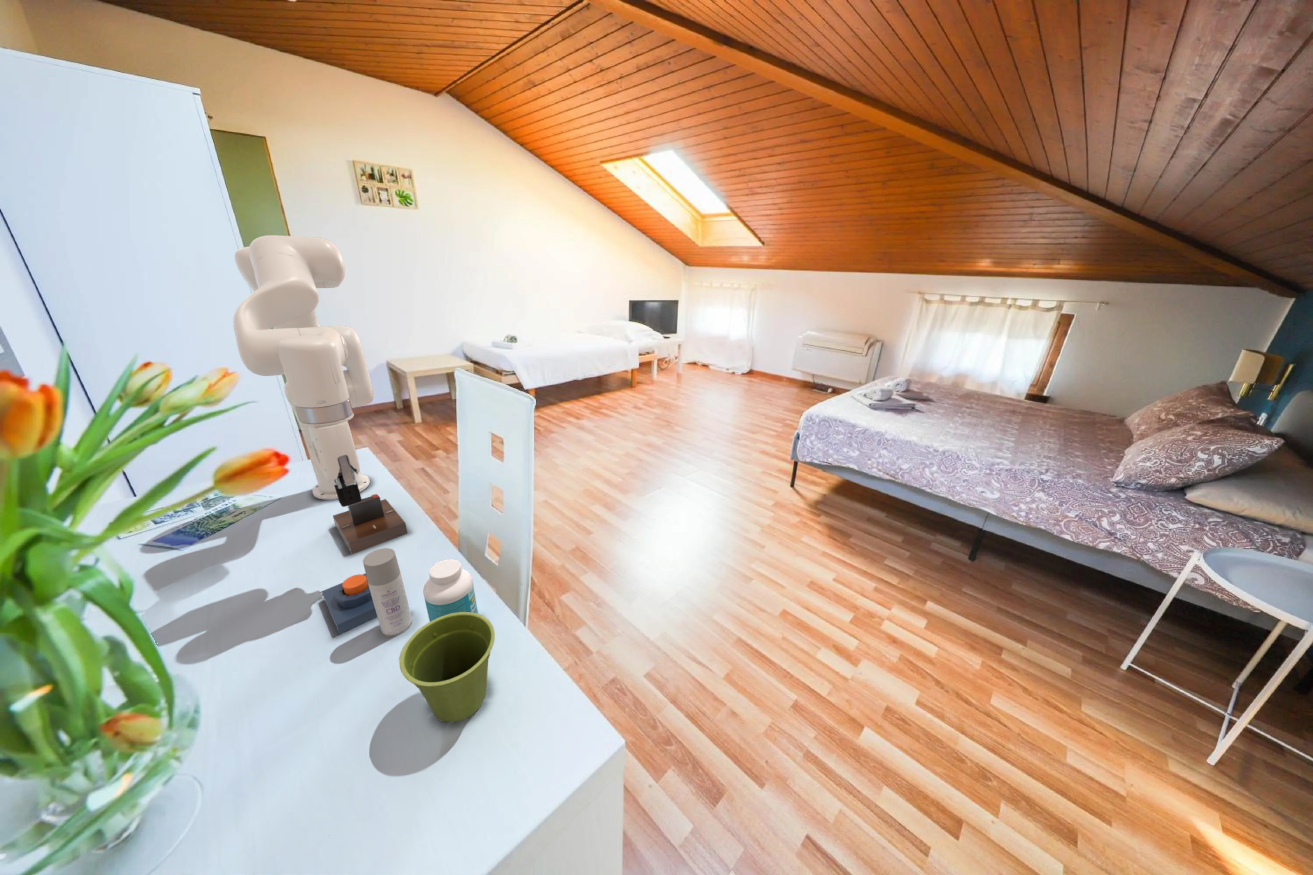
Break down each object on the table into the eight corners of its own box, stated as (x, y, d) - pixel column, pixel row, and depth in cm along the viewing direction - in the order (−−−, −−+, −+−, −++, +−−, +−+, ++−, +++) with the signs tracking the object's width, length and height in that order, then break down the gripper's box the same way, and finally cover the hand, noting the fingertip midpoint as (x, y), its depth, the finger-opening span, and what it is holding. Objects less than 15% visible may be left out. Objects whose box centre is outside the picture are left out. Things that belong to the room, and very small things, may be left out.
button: (342, 588, 77) (339, 580, 77) (365, 578, 80) (363, 571, 79) (347, 598, 75) (345, 591, 75) (370, 588, 78) (368, 581, 77)
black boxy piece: (354, 525, 96) (348, 505, 94) (352, 522, 97) (346, 502, 95) (384, 515, 100) (379, 496, 98) (382, 512, 101) (377, 493, 99)
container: (393, 640, 72) (374, 569, 66) (375, 630, 74) (355, 560, 68) (418, 621, 76) (402, 552, 70) (400, 611, 78) (383, 544, 72)
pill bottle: (485, 633, 74) (476, 571, 69) (439, 655, 70) (425, 591, 64) (472, 607, 79) (462, 548, 74) (428, 626, 75) (414, 564, 70)
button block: (324, 600, 79) (318, 583, 78) (379, 577, 85) (375, 561, 84) (339, 635, 72) (333, 617, 71) (398, 607, 79) (393, 590, 77)
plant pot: (395, 722, 60) (377, 665, 55) (458, 655, 70) (448, 602, 65) (462, 756, 56) (449, 698, 52) (519, 679, 66) (512, 626, 62)
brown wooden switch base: (335, 526, 100) (332, 514, 99) (388, 509, 107) (385, 498, 106) (352, 554, 91) (348, 542, 90) (407, 533, 99) (405, 522, 97)
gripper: (289, 403, 74) (317, 493, 82) (306, 429, 65) (336, 528, 73) (340, 395, 79) (362, 480, 87) (363, 418, 70) (386, 512, 78)
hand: (350, 502), depth 80 cm, fingers closed
